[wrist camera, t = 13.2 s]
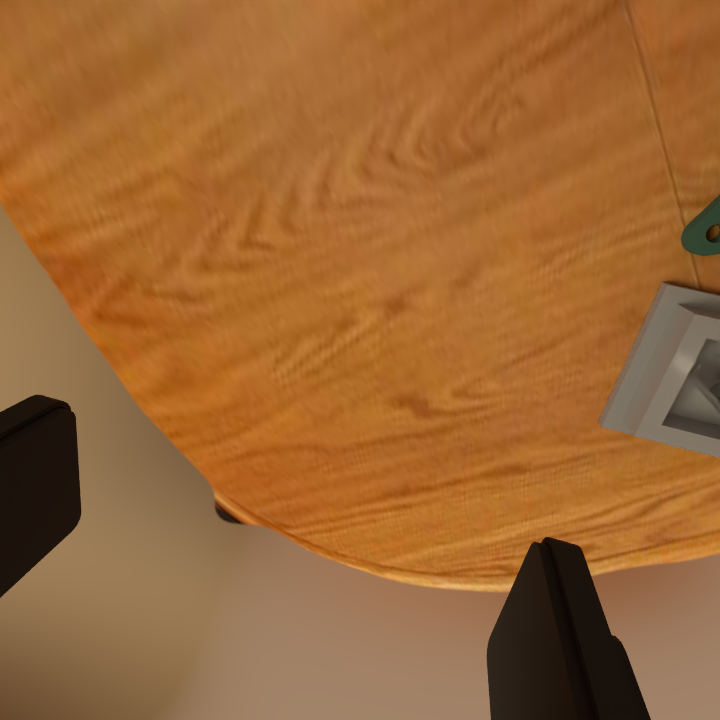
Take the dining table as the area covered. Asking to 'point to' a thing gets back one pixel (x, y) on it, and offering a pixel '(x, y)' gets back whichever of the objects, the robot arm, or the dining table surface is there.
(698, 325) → the socket
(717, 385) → the milkshake
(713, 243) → the mount
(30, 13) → the dining table surface
